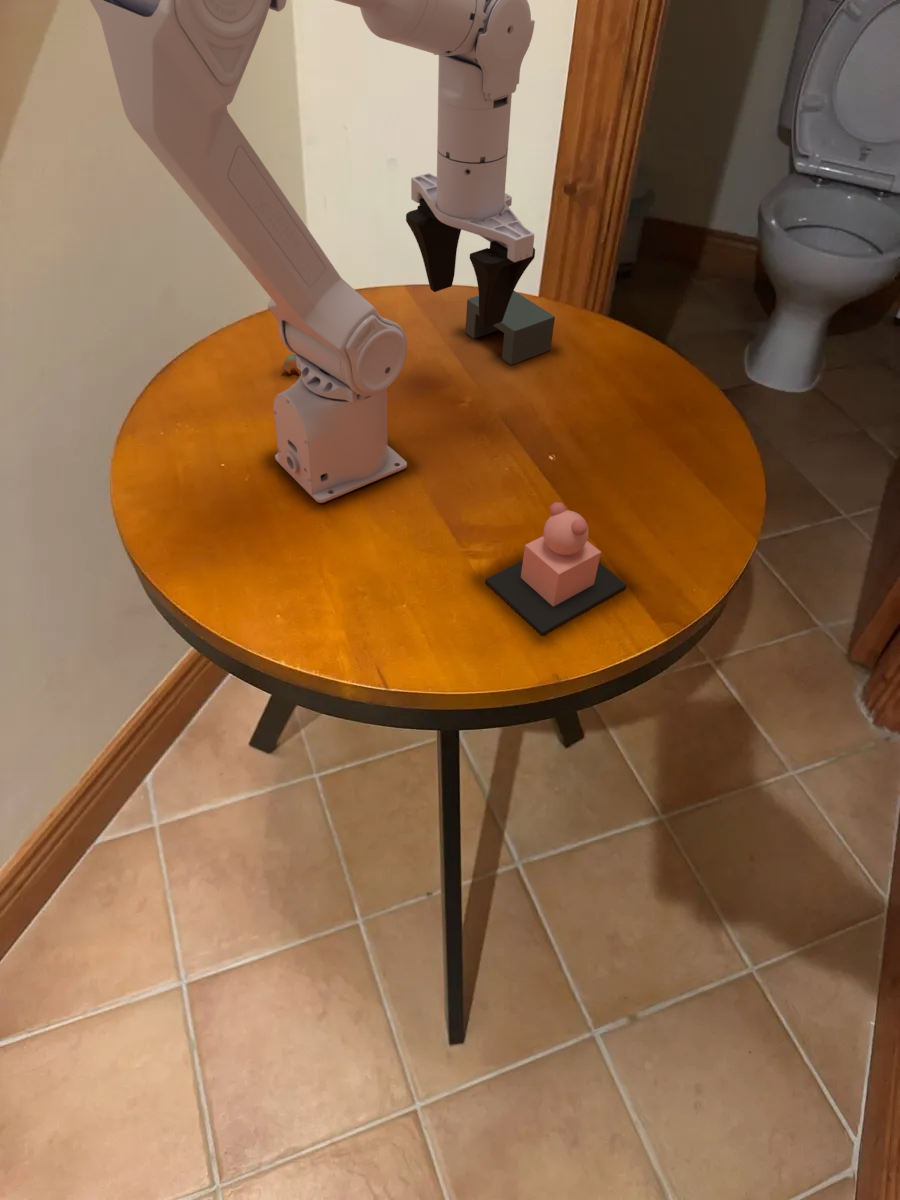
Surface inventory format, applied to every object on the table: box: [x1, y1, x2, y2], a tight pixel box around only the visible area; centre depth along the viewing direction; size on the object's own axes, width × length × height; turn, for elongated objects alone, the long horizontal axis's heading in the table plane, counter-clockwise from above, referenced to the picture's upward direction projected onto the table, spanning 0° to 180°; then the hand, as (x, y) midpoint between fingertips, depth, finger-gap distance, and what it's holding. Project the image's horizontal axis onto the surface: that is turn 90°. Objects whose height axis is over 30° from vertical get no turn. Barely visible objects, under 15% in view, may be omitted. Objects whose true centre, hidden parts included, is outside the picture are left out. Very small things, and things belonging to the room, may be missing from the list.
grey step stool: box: [464, 290, 556, 366], centre depth 98 cm, size 6×8×4 cm
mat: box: [484, 559, 628, 636], centre depth 73 cm, size 9×7×1 cm
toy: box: [521, 501, 602, 607], centre depth 70 cm, size 4×4×7 cm
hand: (465, 305), depth 83 cm, fingers open, 7 cm apart
